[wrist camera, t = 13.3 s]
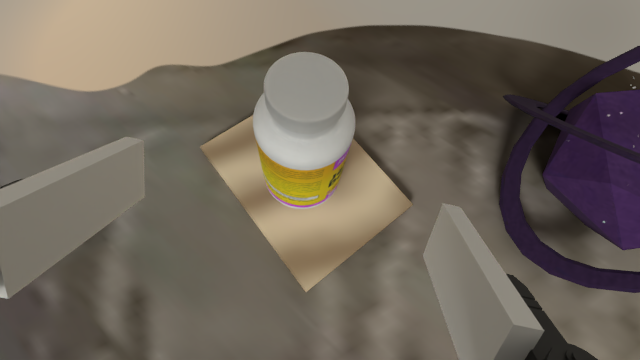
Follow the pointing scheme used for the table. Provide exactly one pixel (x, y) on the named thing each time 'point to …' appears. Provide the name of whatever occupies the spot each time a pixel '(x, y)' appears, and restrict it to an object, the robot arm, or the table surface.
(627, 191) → the decorative bottle
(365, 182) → the pad
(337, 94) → the supplement bottle
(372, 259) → the table surface
